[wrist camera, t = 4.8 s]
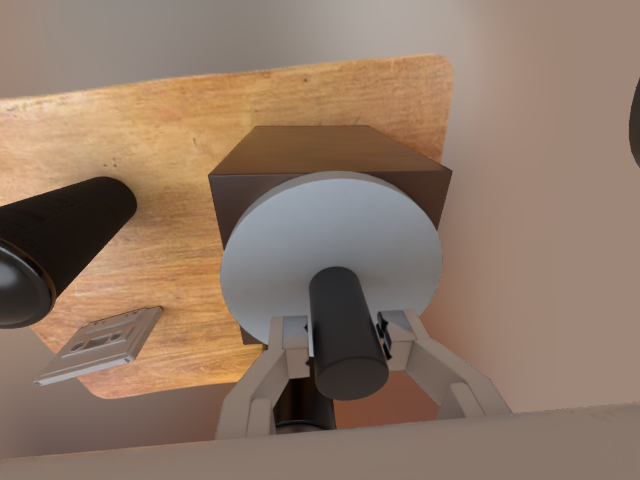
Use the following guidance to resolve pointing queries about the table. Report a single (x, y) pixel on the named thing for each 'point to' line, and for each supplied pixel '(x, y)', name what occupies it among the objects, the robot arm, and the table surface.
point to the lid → (332, 270)
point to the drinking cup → (55, 243)
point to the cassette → (101, 345)
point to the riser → (319, 169)
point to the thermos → (303, 406)
